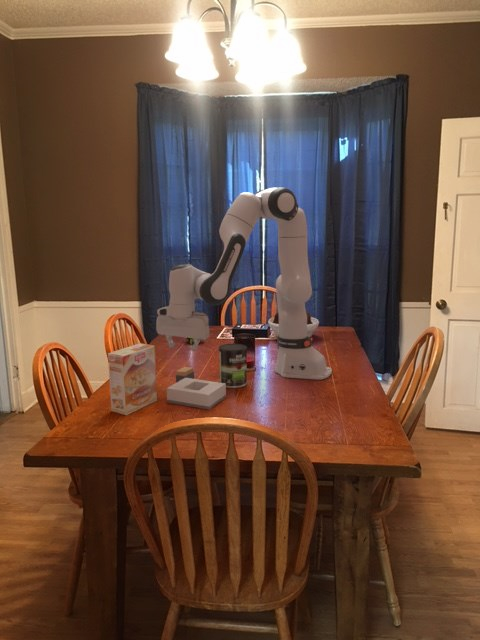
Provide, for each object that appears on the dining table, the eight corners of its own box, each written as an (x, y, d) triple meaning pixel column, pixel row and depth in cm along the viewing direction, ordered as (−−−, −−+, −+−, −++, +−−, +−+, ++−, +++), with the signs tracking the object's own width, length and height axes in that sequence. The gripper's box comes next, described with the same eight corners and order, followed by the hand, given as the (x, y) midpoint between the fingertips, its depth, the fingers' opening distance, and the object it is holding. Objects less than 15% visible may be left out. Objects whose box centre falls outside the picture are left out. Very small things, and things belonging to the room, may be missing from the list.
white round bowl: (322, 345, 240) (322, 314, 237) (269, 345, 241) (269, 314, 237) (315, 333, 265) (315, 304, 261) (267, 333, 265) (267, 305, 262)
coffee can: (252, 385, 186) (251, 348, 183) (226, 390, 181) (226, 352, 178) (239, 377, 195) (238, 341, 192) (214, 381, 190) (214, 345, 187)
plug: (194, 386, 186) (193, 367, 185) (185, 391, 181) (185, 372, 179) (185, 384, 188) (184, 366, 186) (176, 389, 183) (175, 371, 181)
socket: (225, 397, 174) (225, 383, 173) (209, 409, 164) (208, 394, 162) (185, 391, 181) (185, 377, 180) (167, 402, 170) (166, 388, 169)
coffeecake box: (126, 415, 159) (122, 356, 155) (110, 411, 163) (106, 353, 159) (158, 400, 172) (155, 345, 168) (142, 397, 176) (139, 342, 171)
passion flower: (190, 352, 252) (189, 329, 257) (210, 348, 249) (210, 326, 254) (181, 344, 242) (181, 321, 247) (203, 340, 239) (202, 317, 244)
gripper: (212, 311, 177) (212, 349, 180) (163, 306, 185) (164, 343, 188) (203, 314, 171) (204, 354, 174) (153, 309, 180) (154, 347, 183)
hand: (183, 348), depth 181 cm, fingers open, 8 cm apart
